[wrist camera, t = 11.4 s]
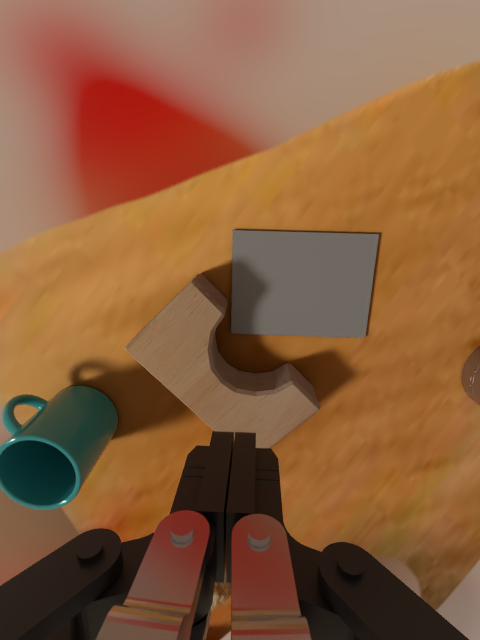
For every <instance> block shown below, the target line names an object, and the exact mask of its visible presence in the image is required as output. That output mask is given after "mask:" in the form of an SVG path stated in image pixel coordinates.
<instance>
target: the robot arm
mask: <svg viewBox="0 0 480 640" xmlns="http://www.w3.org/2000/svg"><path fill="white" fill-rule="evenodd" d="M462 383H463V387H464V390H465V392H466V393H467V394H468V396H469V397H470V398H471V399H472V400H474V401H475V402H476V403H477V404H478V405H480V347H479V348H478V349H476V350H475V351H474V352H473V353H472V355H471V356H470V357H469V358H468V360H467V362H466V363H465V366H464V369H463V373H462ZM225 565H226V583H231V640H469V639H468V638H467V637H465V636H464V635H463V634H462V633H461V632H459V631H458V630H457V629H456V628H455V627H454V626H453V625H451V624H450V623H449V622H448V621H447V620H445V619H444V618H443V617H442V616H441V615H440V614H439V613H438V612H436V611H435V610H434V609H433V608H432V607H431V606H429V605H428V604H427V603H426V602H425V601H424V600H423V599H421V598H420V597H419V596H418V595H417V594H416V593H414V592H413V591H412V590H411V589H410V588H409V587H407V586H406V585H405V584H404V583H403V582H402V581H400V580H399V579H398V578H397V577H396V576H395V575H393V574H392V573H391V572H390V571H389V570H388V569H387V568H385V567H384V566H383V565H382V564H381V563H380V562H378V561H377V560H376V559H375V558H374V557H373V556H372V555H370V554H369V553H368V552H367V551H365V550H364V549H362V548H361V547H359V546H357V545H354V544H351V543H346V542H337V543H333V544H330V545H328V546H327V547H326V548H324V549H323V551H322V552H320V551H317V550H315V549H312V548H309V547H306V546H304V545H302V544H300V543H299V542H297V541H296V540H295V539H294V538H293V537H292V536H290V534H289V533H288V532H287V530H286V528H285V526H284V523H283V514H282V502H281V490H280V477H279V465H278V458H277V457H276V455H275V454H274V452H273V451H272V449H270V448H256V433H250V432H235V439H234V432H222V431H213V433H212V437H211V442H210V446H196V447H195V448H194V449H193V450H192V451H191V452H190V453H189V454H188V456H187V459H186V463H185V466H184V469H183V472H182V476H181V479H180V482H179V485H178V489H177V492H176V495H175V499H174V502H173V505H172V508H171V512H170V515H168V516H166V517H165V518H164V519H163V520H162V521H161V522H160V523H159V524H158V526H157V528H156V530H155V532H154V533H152V534H150V535H148V536H146V537H143V538H139V539H135V540H131V541H127V542H123V543H121V540H120V538H119V536H118V535H117V534H116V533H115V532H114V531H112V530H109V529H93V530H89V531H86V532H84V533H82V534H80V535H78V536H77V537H75V538H74V539H72V540H71V541H69V542H67V543H66V544H64V545H63V546H61V547H60V548H58V549H57V550H55V551H54V552H52V553H51V554H49V555H48V556H46V557H44V558H43V559H41V560H40V561H38V562H37V563H35V564H33V565H32V566H30V567H29V568H27V569H26V570H24V571H23V572H21V573H20V574H18V575H17V576H15V577H13V578H12V579H10V580H9V581H7V582H6V583H4V584H3V585H1V586H0V640H206V637H207V632H208V627H209V622H210V617H211V605H212V602H213V596H214V588H215V582H218V583H224V575H225Z"/></svg>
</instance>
